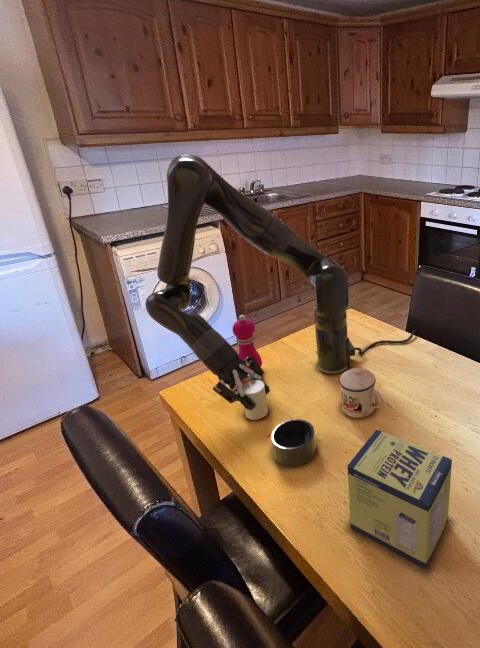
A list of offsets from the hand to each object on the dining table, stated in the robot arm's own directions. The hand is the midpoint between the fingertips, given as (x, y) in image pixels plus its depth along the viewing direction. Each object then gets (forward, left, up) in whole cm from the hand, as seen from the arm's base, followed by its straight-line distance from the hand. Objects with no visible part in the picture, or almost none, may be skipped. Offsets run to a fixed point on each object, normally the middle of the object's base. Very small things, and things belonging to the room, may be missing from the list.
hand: (260, 400), depth 104 cm
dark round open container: (-6, +15, -5) cm, 17 cm away
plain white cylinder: (+1, -1, -4) cm, 5 cm away
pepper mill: (+1, -18, -5) cm, 19 cm away
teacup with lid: (-25, +7, -5) cm, 26 cm away
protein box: (-21, +40, -5) cm, 45 cm away
